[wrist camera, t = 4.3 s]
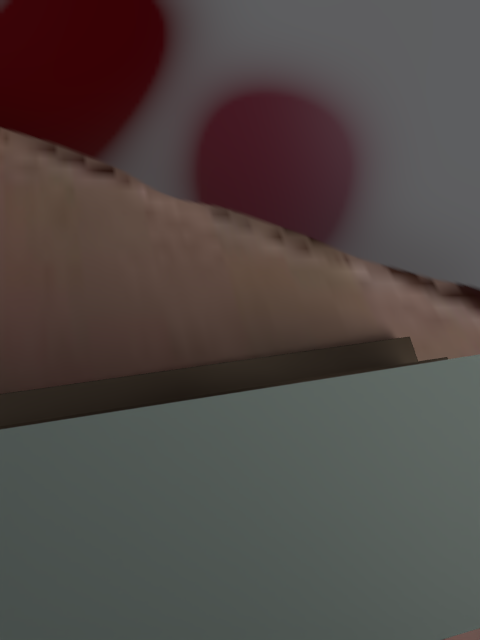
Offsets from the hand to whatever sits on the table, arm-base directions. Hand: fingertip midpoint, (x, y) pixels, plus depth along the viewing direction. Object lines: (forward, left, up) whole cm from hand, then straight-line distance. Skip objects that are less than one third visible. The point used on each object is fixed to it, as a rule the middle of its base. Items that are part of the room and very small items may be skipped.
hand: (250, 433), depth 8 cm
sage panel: (0, -1, -7) cm, 7 cm away
